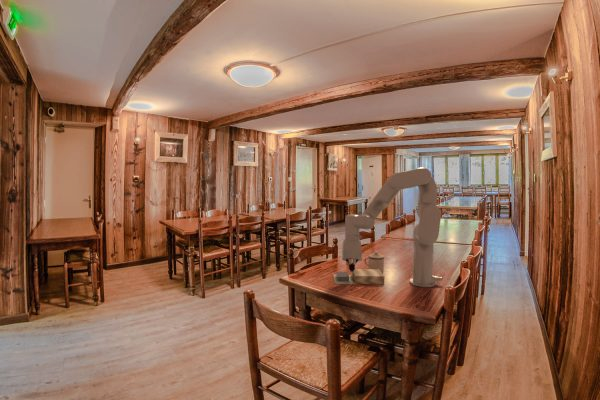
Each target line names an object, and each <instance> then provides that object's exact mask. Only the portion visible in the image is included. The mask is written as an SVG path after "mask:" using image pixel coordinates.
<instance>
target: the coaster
mask: <svg viewBox="0 0 600 400" xmlns="http://www.w3.org/2000/svg"><path fill="white" fill-rule="evenodd" d="M335 274H336V277H337V281H349V275H350V274H349V273H348V271H336V273H335Z"/></svg>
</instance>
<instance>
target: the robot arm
mask: <svg viewBox="0 0 600 400" xmlns="http://www.w3.org/2000/svg"><path fill="white" fill-rule="evenodd" d="M415 187H418V201H417V210H416V214H417V217H418V219H419V222H418V224H416V225H415V226H414V228H413V234H412V236H413V237H412V239H413V259H412V260H413V262H412V266H413V267H412V268H413V269H412V277H411V278H410V279H409V283H410V284H411V285H413V286H415V287H419V288H432V287H435V286H437V284H436V283H437V281H438V282H442V281H443V277H442V276H438V275H435V276H434V272H433V271H434V244H435V243H436V242H437V240H438V239H439V235H440V233H439V232H440V227H441V217H442V215H441V209H440V208H439V207H438V205H437V200H438V199H437V198H438V187H437V183H436V180H434V178H433V176H432V172H431V170H430V169H428V168H427V167H416V168H413V169H409V170H406V171H401V172H394V173H392V174H390V176H388V178H387V179H386V181H385V182H384V183H383V185H382V186H381V188H380V189H379V190H378V191H377V193H376V194H375V196H374V197H373V199H372V200H371V202H370V203H369V204H368V206H367V207H366V208H365V210H364V211H363V212H362V213H361V215H358V214H356V213H355V214H354V213H351V214H346V215H345V216H344V217H345V219H344V220H345V221H344V227H345V228H344V229H345V230H344V232H345V234H344V239H343V242H342V250H341V251H342V253H341V255H342V256H341V257H342V258H341V260H342V261H344V262H347V264H348V270H349V271H350V273H352V272H354V270H355V269H356V264H357V263H358V262H360V261H363V251H362V241H361V239H362V238H363V235H361V234H360V229H362V230H371V229H372V228H374V226H375V224H376V223H375V221H376V219H377V218H378V216H380V214H381V213H382V212H383V210H385V209H386V208H388V207H389V206H390V204H392V202H393V200H394V199H395V198H396V197H397V195H398V193H400V192H401V190H405V189H410V188H411V189H412V188H415ZM351 260H352V261H351Z"/></svg>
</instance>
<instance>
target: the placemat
mask: <svg viewBox="0 0 600 400" xmlns="http://www.w3.org/2000/svg"><path fill="white" fill-rule="evenodd" d="M332 275H333V280H334V281H333V282H334V284H335V285H355V282H354V279H353V277H352V274H348V275H349V281H337V277H336V273H335V274H334V273H333V274H332Z"/></svg>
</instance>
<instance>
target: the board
mask: <svg viewBox="0 0 600 400" xmlns="http://www.w3.org/2000/svg"><path fill="white" fill-rule="evenodd" d="M351 276H352V278H353V281H354V283H355V284H357V285H360V284H361V285H362V284H363V285H365V284H366V285H385V275H384V274H383V272H381V271H380V270H379V269H369V268H355V270H354V272H351ZM355 284H354V285H355Z"/></svg>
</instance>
